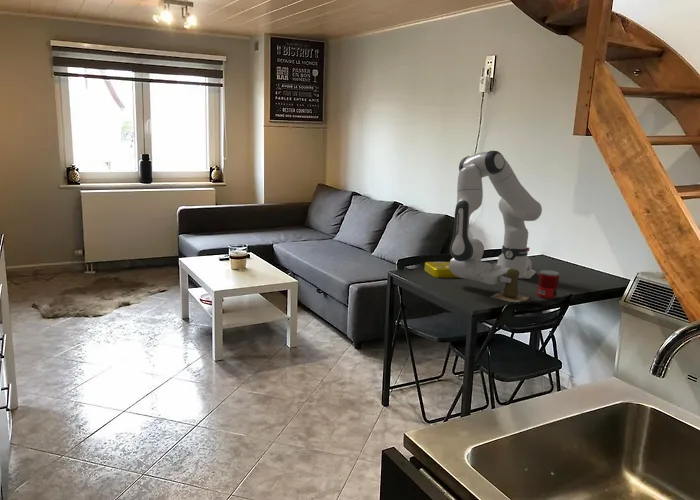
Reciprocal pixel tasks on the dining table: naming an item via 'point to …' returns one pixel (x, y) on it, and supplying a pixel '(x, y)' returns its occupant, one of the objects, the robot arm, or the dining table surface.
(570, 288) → the dining table surface
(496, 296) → the coaster
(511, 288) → the cork
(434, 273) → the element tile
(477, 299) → the dining table surface
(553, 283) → the canned food
